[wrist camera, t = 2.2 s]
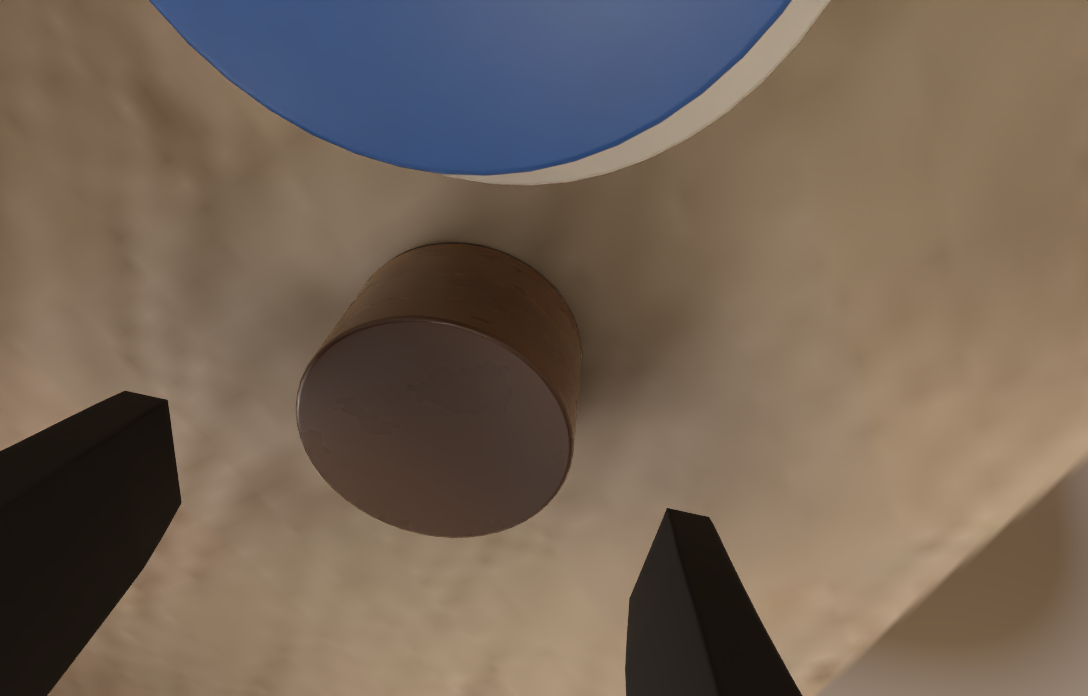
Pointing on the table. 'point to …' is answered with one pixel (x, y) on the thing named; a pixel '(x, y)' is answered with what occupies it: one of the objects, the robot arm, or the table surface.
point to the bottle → (497, 74)
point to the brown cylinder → (446, 393)
